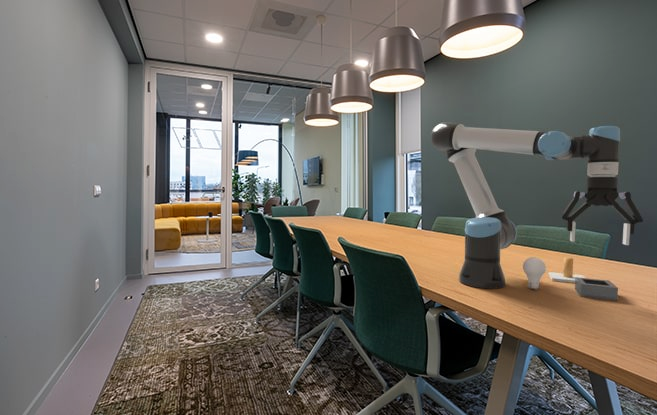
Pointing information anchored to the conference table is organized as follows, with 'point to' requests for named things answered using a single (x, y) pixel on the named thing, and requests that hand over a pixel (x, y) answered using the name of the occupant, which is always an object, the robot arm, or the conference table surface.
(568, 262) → the keeper
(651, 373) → the conference table surface
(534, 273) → the light bulb
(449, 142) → the robot arm
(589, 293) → the grey square frame
